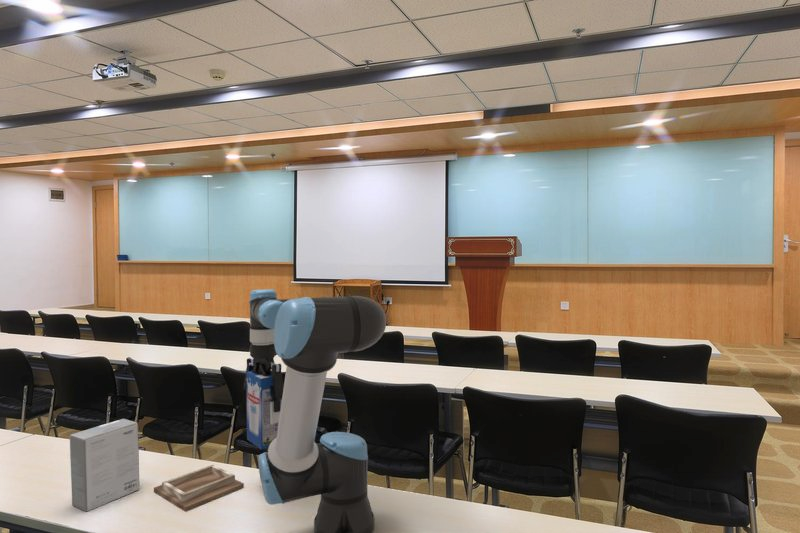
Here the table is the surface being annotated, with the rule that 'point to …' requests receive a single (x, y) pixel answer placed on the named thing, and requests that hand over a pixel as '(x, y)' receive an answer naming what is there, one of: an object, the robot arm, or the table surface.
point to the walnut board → (198, 487)
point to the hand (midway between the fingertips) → (263, 418)
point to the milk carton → (260, 410)
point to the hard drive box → (104, 463)
